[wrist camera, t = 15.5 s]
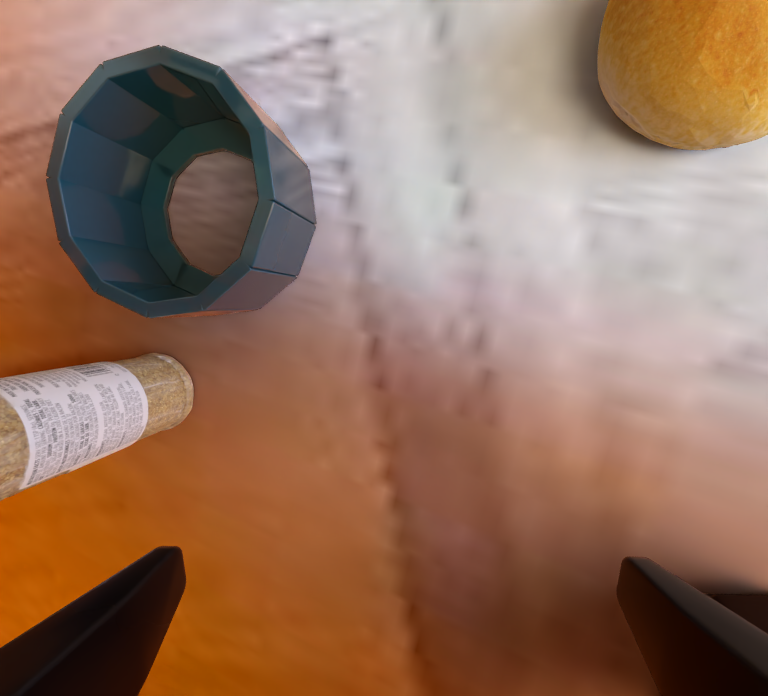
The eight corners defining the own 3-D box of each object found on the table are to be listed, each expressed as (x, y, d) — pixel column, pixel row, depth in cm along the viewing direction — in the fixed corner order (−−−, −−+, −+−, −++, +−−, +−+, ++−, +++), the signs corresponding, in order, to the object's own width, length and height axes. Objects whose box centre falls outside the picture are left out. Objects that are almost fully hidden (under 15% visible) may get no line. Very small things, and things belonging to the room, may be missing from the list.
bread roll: (560, 14, 16) (596, -84, 12) (803, -120, 14) (943, -291, 10) (630, 197, 16) (688, 161, 12) (877, 90, 14) (1042, 6, 10)
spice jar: (124, 412, 22) (-367, 573, 9) (137, 340, 21) (-378, 398, 8) (190, 438, 21) (-232, 655, 8) (206, 365, 21) (-229, 472, 7)
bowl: (327, 300, 19) (289, 299, 14) (154, 323, 21) (74, 328, 16) (298, 87, 18) (248, 16, 13) (120, 132, 20) (26, 83, 16)
